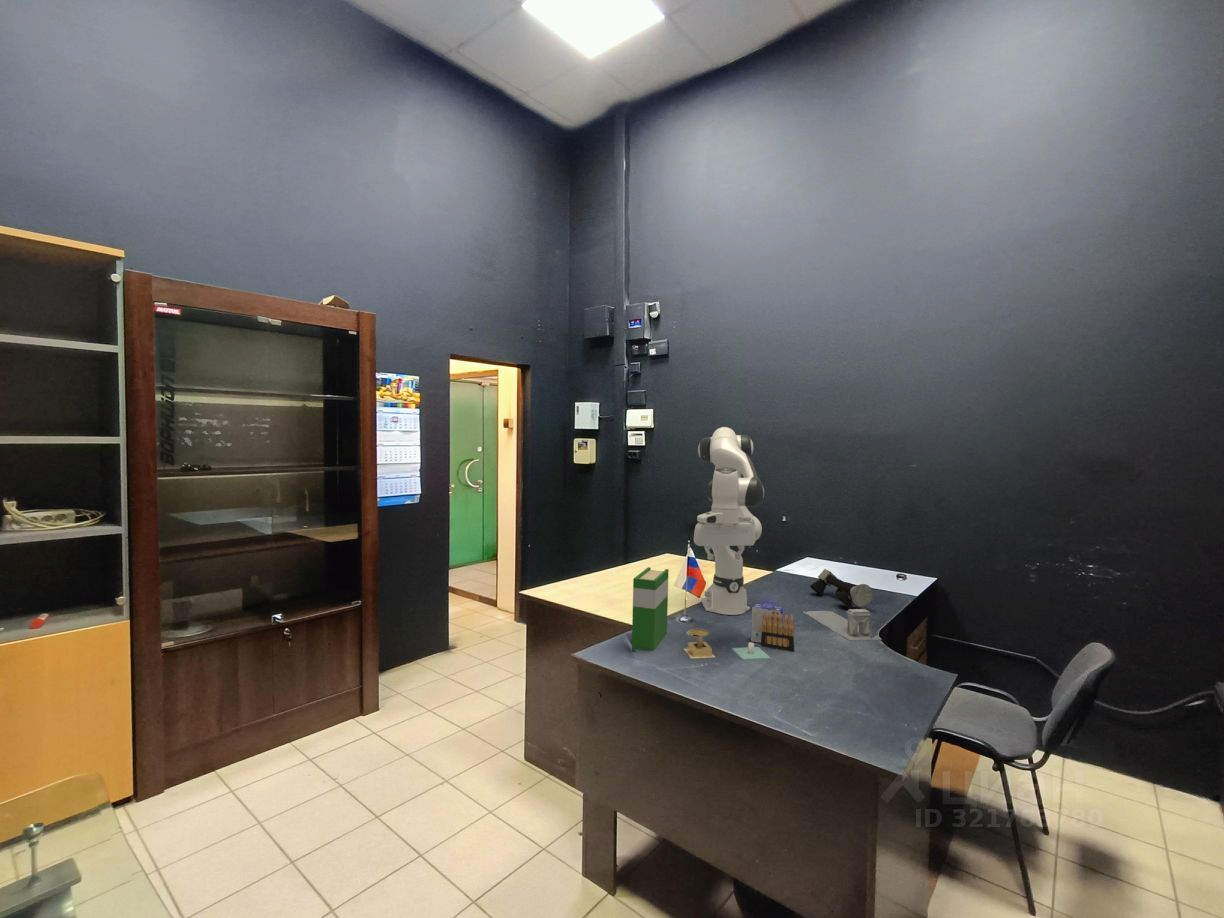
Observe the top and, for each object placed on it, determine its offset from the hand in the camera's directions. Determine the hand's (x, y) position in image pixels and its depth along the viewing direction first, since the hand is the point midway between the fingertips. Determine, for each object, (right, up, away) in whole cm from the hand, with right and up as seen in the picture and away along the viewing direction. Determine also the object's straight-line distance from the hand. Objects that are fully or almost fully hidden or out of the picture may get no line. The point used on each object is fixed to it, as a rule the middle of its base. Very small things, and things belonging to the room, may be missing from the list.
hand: (724, 559), depth 182 cm
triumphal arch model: (+50, -31, +30) cm, 66 cm away
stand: (-9, -30, -6) cm, 32 cm away
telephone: (+64, -30, +60) cm, 93 cm away
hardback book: (-24, -30, +5) cm, 39 cm away
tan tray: (-9, -29, -6) cm, 31 cm away
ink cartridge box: (+17, -31, +10) cm, 36 cm away
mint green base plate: (+7, -31, -6) cm, 32 cm away
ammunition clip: (+19, -31, +4) cm, 36 cm away
